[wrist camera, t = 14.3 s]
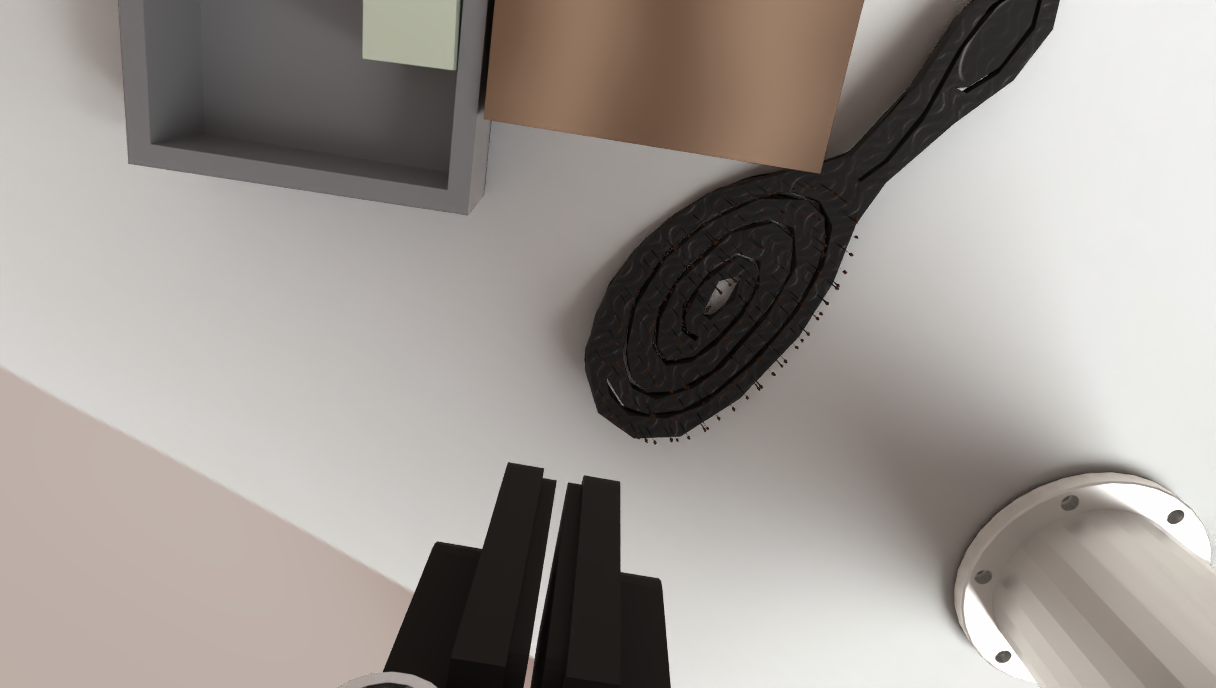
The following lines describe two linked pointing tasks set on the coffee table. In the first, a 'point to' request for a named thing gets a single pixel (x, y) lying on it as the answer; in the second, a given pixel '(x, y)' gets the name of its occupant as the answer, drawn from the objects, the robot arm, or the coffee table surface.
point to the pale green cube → (413, 32)
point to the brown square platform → (677, 73)
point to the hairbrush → (779, 243)
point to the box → (304, 101)
